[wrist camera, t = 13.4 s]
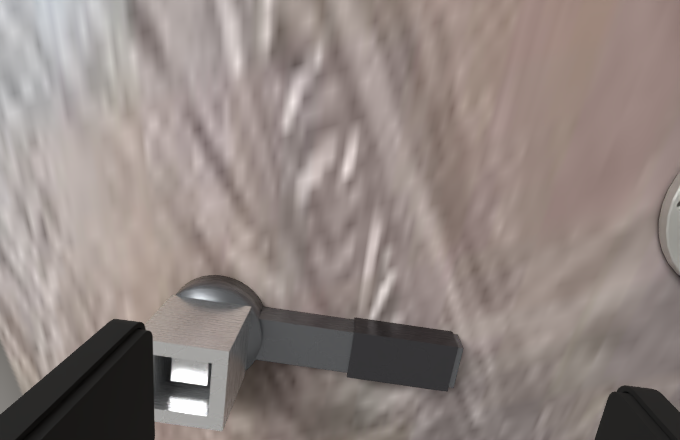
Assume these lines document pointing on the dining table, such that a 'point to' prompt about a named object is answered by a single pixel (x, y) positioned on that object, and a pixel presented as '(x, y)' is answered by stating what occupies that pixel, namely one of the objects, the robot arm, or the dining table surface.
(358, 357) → the ratchet
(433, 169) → the dining table surface
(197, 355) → the socket
